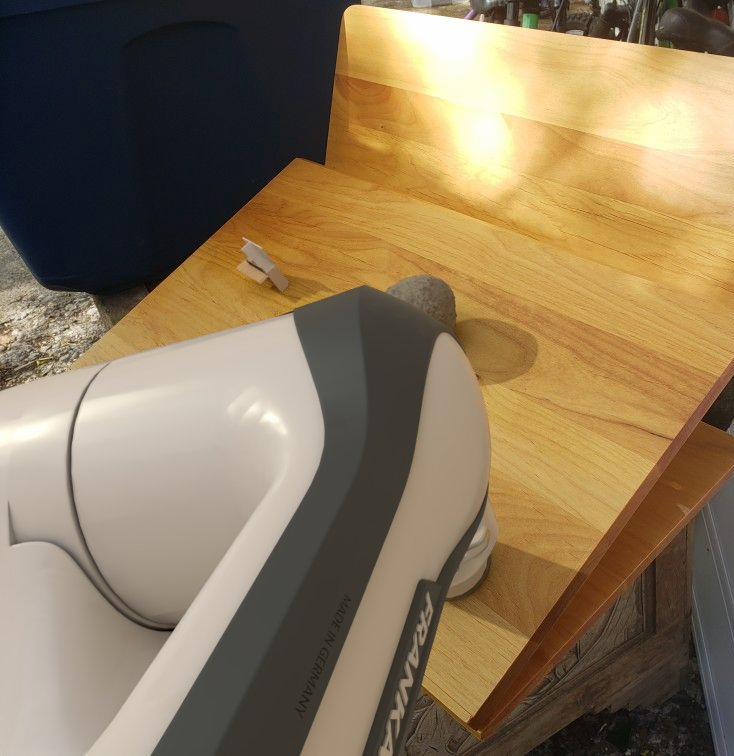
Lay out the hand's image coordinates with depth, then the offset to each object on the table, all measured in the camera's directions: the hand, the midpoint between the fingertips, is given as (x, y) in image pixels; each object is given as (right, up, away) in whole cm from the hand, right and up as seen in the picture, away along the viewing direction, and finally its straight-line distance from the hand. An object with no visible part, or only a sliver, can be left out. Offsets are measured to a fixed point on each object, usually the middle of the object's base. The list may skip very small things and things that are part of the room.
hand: (361, 527), depth 47 cm
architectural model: (-25, +25, +57) cm, 67 cm away
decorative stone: (+1, +15, +40) cm, 43 cm away
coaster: (+5, -8, +21) cm, 23 cm away
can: (+5, -8, +21) cm, 23 cm away
